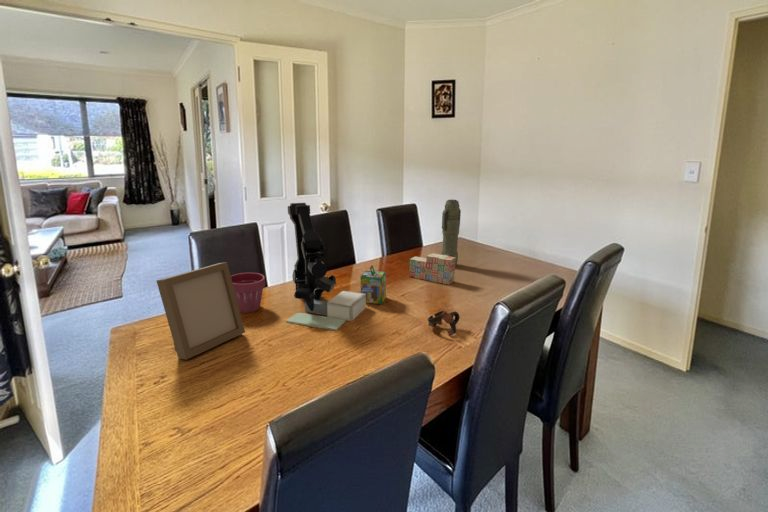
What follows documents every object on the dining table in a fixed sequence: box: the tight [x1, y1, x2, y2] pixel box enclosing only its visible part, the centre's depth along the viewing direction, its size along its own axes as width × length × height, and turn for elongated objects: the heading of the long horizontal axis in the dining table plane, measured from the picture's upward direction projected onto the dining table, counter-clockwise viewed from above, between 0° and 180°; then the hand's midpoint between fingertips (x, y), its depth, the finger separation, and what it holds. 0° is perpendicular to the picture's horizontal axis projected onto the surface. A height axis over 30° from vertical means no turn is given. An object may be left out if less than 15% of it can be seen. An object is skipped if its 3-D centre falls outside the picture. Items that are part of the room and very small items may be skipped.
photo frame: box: [156, 261, 246, 360], centre depth 134 cm, size 15×22×25 cm
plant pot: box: [231, 272, 266, 314], centre depth 163 cm, size 14×14×13 cm
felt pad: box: [286, 312, 347, 331], centre depth 153 cm, size 20×8×1 cm, turn 71°
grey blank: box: [304, 299, 330, 316], centre depth 161 cm, size 16×4×4 cm, turn 70°
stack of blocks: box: [408, 252, 456, 286], centre depth 201 cm, size 21×6×12 cm, turn 57°
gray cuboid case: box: [326, 290, 367, 322], centre depth 162 cm, size 10×14×6 cm
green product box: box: [359, 264, 387, 305], centre depth 173 cm, size 9×9×15 cm
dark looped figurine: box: [427, 309, 460, 337], centre depth 148 cm, size 12×10×8 cm
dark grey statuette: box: [440, 199, 462, 267], centre depth 221 cm, size 9×12×35 cm
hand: (314, 308), depth 163 cm, fingers closed on grey blank, 4 cm apart
